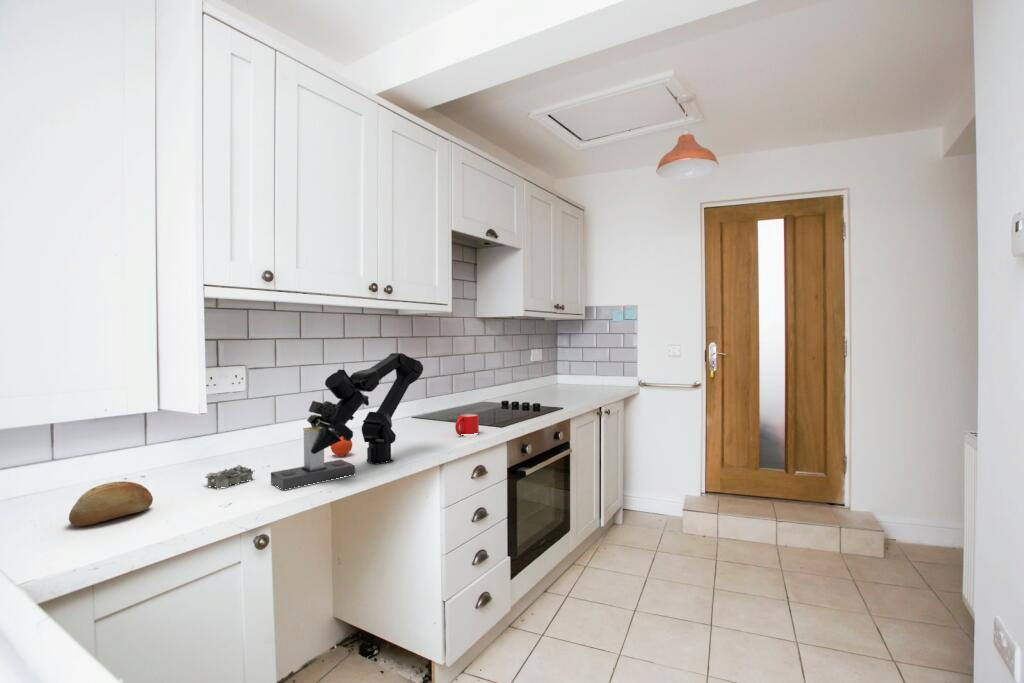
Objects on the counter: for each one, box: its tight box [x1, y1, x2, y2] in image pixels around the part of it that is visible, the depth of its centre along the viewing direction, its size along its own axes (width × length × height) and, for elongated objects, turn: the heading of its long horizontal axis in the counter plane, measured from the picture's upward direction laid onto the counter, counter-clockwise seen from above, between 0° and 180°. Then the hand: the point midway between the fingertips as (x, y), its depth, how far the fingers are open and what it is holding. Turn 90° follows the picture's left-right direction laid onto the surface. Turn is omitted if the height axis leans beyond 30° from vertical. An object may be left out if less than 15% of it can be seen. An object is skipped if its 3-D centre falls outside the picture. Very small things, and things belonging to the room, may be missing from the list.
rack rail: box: [270, 459, 356, 491], centre depth 140 cm, size 20×9×3 cm, turn 134°
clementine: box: [330, 437, 353, 457], centre depth 168 cm, size 8×7×7 cm
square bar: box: [302, 426, 325, 473], centre depth 140 cm, size 4×4×13 cm
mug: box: [454, 413, 480, 436], centre depth 201 cm, size 8×12×8 cm, turn 148°
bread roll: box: [68, 480, 154, 528], centre depth 111 cm, size 10×15×8 cm, turn 146°
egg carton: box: [204, 464, 256, 489], centre depth 137 cm, size 11×8×4 cm
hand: (309, 451), depth 139 cm, fingers closed on square bar, 4 cm apart
